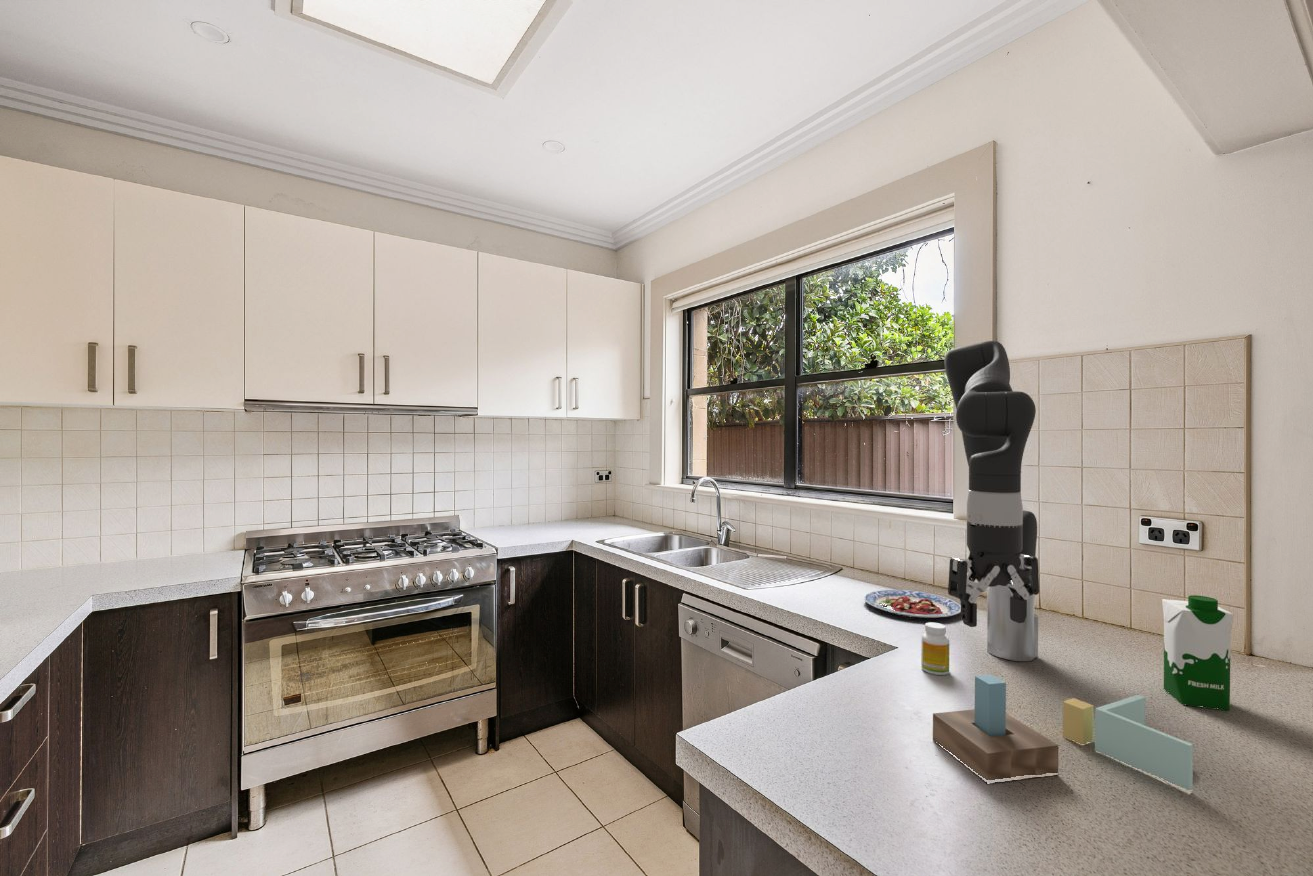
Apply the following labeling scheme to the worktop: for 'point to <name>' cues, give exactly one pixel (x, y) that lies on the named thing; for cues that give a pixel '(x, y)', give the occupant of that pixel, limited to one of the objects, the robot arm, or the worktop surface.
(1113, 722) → the l-shaped corner panel
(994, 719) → the long peg
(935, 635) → the supplement bottle
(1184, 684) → the milk carton
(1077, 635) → the worktop surface
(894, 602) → the ceramic plate
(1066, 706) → the short peg
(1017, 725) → the hole block
